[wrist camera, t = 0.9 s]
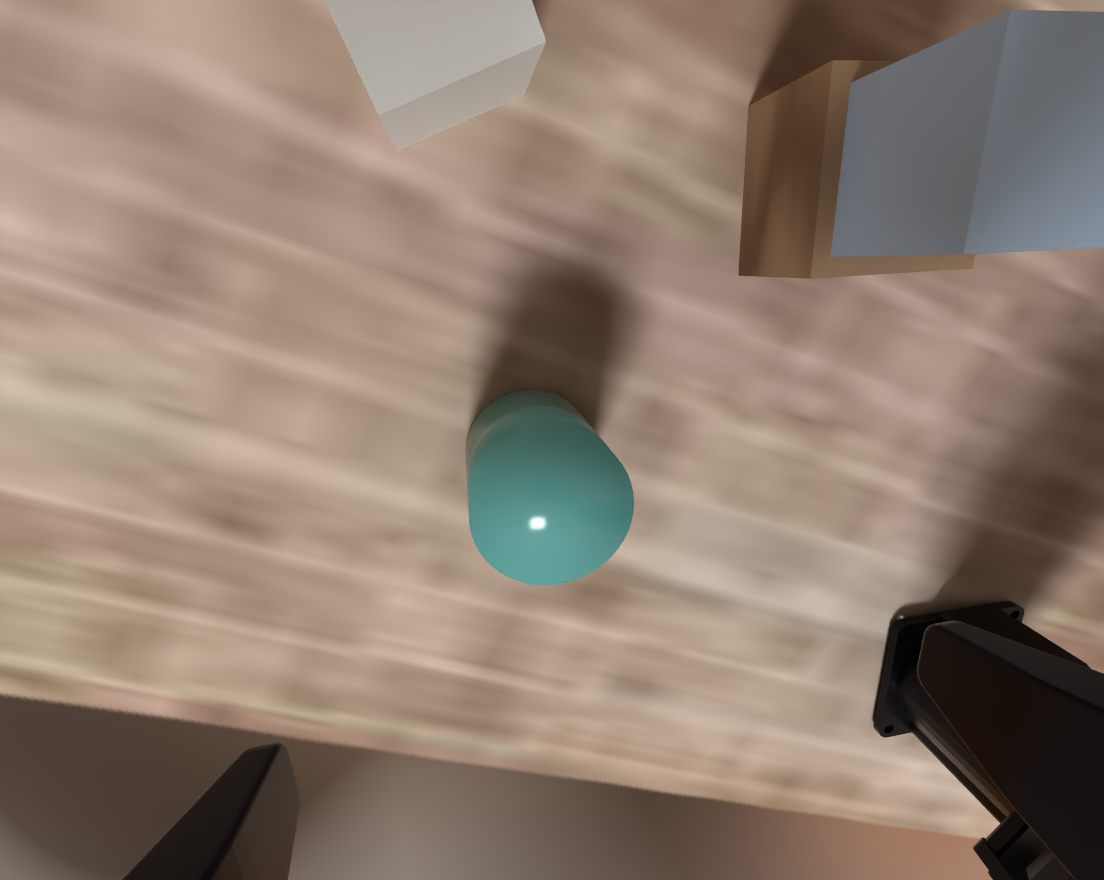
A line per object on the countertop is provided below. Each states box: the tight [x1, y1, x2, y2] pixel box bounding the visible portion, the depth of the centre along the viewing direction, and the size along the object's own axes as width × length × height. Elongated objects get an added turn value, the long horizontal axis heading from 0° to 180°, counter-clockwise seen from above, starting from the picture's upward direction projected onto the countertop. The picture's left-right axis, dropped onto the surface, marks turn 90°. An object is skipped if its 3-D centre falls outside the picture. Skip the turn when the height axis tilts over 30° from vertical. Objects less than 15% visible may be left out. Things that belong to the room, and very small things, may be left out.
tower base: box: [739, 60, 975, 278], centre depth 16 cm, size 5×5×4 cm
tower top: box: [830, 10, 1104, 257], centre depth 12 cm, size 4×4×4 cm
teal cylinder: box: [466, 389, 634, 585], centre depth 16 cm, size 4×4×5 cm
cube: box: [325, 0, 546, 151], centre depth 13 cm, size 4×4×4 cm
